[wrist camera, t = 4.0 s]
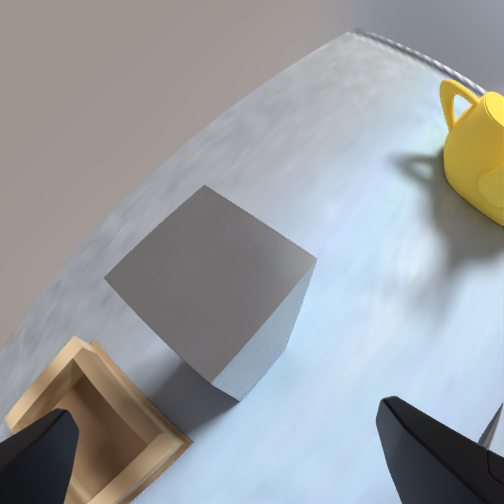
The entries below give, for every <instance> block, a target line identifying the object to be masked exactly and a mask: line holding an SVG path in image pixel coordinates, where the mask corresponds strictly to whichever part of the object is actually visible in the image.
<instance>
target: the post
mask: <svg viewBox="0 0 504 504" xmlns="http://www.w3.org/2000/svg"><path fill="white" fill-rule="evenodd" d="M316 261H317V258H315V257H314V256H313V255H311V254H310V253H308V252H307V251H305V250H304V249H302V248H301V247H299V246H298V245H296V244H295V243H293V242H292V241H290V240H289V239H287V238H286V237H284V236H283V235H281V234H280V233H278V232H277V231H275V230H274V229H272V228H271V227H269V226H267V225H266V224H264V223H263V222H261V221H260V220H258V219H257V218H255V217H254V216H252V215H251V214H249V213H248V212H246V211H244V210H243V209H241V208H240V207H238V206H237V205H235V204H234V203H232V202H231V201H229V200H227V199H226V198H224V197H223V196H221V195H220V194H218V193H216V192H215V191H213V190H212V189H210V188H209V187H207V186H205V185H204V186H203V187H201V188H200V189H199V190H198V191H197V192H195V193H194V194H193V195H192V196H191V197H190V198H189V199H187V200H186V201H185V202H184V203H183V204H182V205H181V206H179V207H178V208H177V209H176V210H175V211H174V212H173V213H171V214H170V215H169V216H168V217H167V218H166V219H165V220H164V221H163V222H161V223H160V224H159V225H158V226H157V227H156V228H155V229H154V230H153V231H152V232H151V233H149V234H148V235H147V236H146V237H145V238H144V239H143V240H142V241H141V242H140V243H139V244H138V245H137V246H136V247H135V248H134V249H133V250H131V251H130V252H129V253H128V254H127V255H126V256H125V257H124V258H123V259H122V260H121V261H120V262H119V263H118V264H117V265H116V266H115V267H114V268H113V269H112V270H111V271H110V272H109V273H108V274H107V275H106V276H105V277H104V279H105V280H106V281H107V282H108V283H109V284H110V285H111V287H112V288H113V289H114V290H115V291H116V292H117V293H118V294H119V295H120V297H121V298H122V299H123V300H124V301H125V302H126V303H127V304H128V305H129V306H130V307H131V308H132V309H133V310H134V312H135V313H136V314H137V315H138V316H139V317H140V318H141V319H142V320H143V321H144V322H145V323H146V324H147V325H148V326H149V327H150V328H151V329H152V330H153V331H154V332H155V333H156V334H157V335H158V336H159V337H160V338H161V339H162V340H163V341H164V342H165V343H166V344H167V345H168V346H169V347H170V348H171V349H173V350H174V351H175V352H176V353H177V354H178V355H179V356H180V357H181V358H182V359H183V360H184V361H185V362H187V363H188V364H189V365H190V366H191V367H192V368H193V369H194V370H195V371H196V372H198V373H199V374H200V375H201V376H202V377H203V378H204V379H206V380H207V381H208V382H209V383H210V384H212V385H213V386H215V387H217V388H218V389H220V390H222V391H223V392H225V393H227V394H228V395H230V396H232V397H234V398H235V399H237V400H239V401H241V400H242V399H243V398H244V397H245V396H246V395H247V394H248V392H249V391H250V390H251V389H252V388H253V387H254V386H255V384H256V383H257V382H258V381H259V380H260V379H261V377H262V376H263V375H264V374H265V373H266V372H267V370H268V369H269V368H270V367H271V366H272V364H273V363H274V362H275V361H276V360H277V358H278V357H279V356H280V355H281V354H282V352H283V351H284V350H285V348H286V346H287V343H288V340H289V338H290V335H291V332H292V330H293V327H294V324H295V322H296V319H297V316H298V313H299V310H300V308H301V305H302V302H303V299H304V296H305V294H306V291H307V288H308V285H309V282H310V279H311V276H312V273H313V270H314V267H315V264H316Z"/></svg>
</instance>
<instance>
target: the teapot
mask: <svg viewBox="0 0 504 504" xmlns="http://www.w3.org/2000/svg"><path fill="white" fill-rule="evenodd" d="M456 94H458V95H460V96H462V97H464V98H465V99H466V100H468V101H469V102H470V103H471V104H472V105H471V106H470V107H469V108H468V109H467V110H465V111H464V113H463V114H462V115H461V116H460V117H459V118H458V119H457V121H456V122H455V117H454V107H453V102H454V96H455V95H456ZM440 100H441V105H442V109H443V112H444V116H445V119H446V123H447V126H448V129H449V133H448V135H447V137H446V140H445V145H444V169H445V175H446V179H447V181H448V183H449V184H450V186H451V187H452V188H453V189H454V190H455V191H456V192H457V193H458V194H459V195H460V196H462V197H463V198H464V199H465V200H466V201H468V202H469V203H470V204H471V205H473V206H474V207H475V208H476V209H478V210H479V211H480V212H482V213H483V214H484V215H486V216H487V217H488V218H490V219H491V220H493V221H494V222H496V223H497V224H499V225H501V226H504V97H503V96H501V95H500V94H498V93H496V92H488V93H487V94H485V95H484V96H482V97H481V98H480V99H478V98H477V97H476V96H475V95H474V94H473V93H472V92H470V91H469V90H468V89H467V88H465V87H464V86H463V85H461V84H460V83H458V82H456V81H454V80H451V79H445V80H443V81H442V82H441V85H440Z"/></svg>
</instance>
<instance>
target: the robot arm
mask: <svg viewBox="0 0 504 504" xmlns="http://www.w3.org/2000/svg"><path fill="white" fill-rule="evenodd" d="M376 426H377V429H378V433H379V437H380V440H381V444H382V448H383V451H384V455H385V459H386V463H387V466H388V469H389V472H390V474H391V477H392V479H393V482H394V484H395V487H396V489H397V492H398V494H399V497H400V499H401V502H402V504H504V457H502V456H500V455H498V454H496V453H494V452H492V451H490V450H487V449H486V448H485V447H483V446H481V445H479V444H477V443H476V442H474V441H472V440H470V439H468V438H467V437H465V436H463V435H461V434H460V433H458V432H456V431H454V430H453V429H451V428H449V427H447V426H446V425H444V424H442V423H440V422H439V421H437V420H435V419H434V418H432V417H430V416H429V415H427V414H425V413H424V412H422V411H420V410H418V409H417V408H415V407H413V406H412V405H410V404H408V403H407V402H405V401H404V400H402V399H400V398H399V397H397V396H390V397H386V398H383V399H382V400H381V401H380V404H379V408H378V412H377V416H376ZM78 439H79V428H78V426H77V424H76V422H75V420H74V419H73V417H72V415H71V413H70V412H69V411H68V410H67V409H61V408H55V409H54V410H52V411H51V412H49V413H47V414H46V415H44V416H43V417H41V418H40V419H38V420H36V421H35V422H33V423H32V424H30V425H29V426H27V427H25V428H24V429H22V430H21V431H19V432H17V433H16V434H14V435H12V436H11V437H9V438H8V439H6V440H4V441H3V442H1V443H0V504H64V501H65V497H66V494H67V490H68V486H69V483H70V479H71V475H72V471H73V466H74V460H75V455H76V449H77V444H78Z"/></svg>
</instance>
